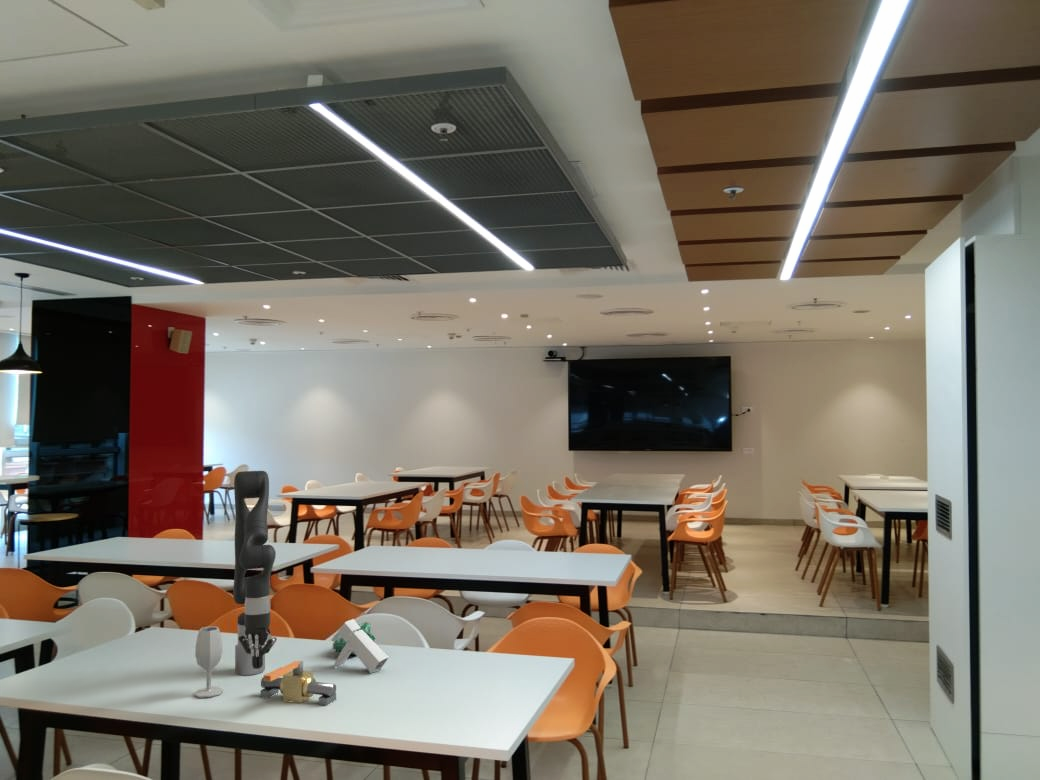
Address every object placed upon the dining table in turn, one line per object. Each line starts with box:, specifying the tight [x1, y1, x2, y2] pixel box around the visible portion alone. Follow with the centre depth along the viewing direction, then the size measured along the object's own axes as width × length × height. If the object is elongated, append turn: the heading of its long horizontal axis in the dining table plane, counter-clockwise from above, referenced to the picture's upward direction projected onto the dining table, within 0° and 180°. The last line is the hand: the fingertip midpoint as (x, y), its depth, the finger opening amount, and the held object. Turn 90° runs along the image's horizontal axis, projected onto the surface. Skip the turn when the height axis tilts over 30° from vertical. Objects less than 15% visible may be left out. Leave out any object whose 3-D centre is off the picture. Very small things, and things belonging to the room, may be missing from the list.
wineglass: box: [194, 625, 224, 699], centre depth 245 cm, size 9×9×21 cm
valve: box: [260, 669, 337, 706], centre depth 239 cm, size 26×6×8 cm, turn 70°
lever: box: [263, 660, 304, 681], centre depth 233 cm, size 17×3×4 cm, turn 160°
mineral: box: [332, 621, 376, 656], centre depth 288 cm, size 18×16×10 cm
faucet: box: [331, 618, 390, 674], centre depth 268 cm, size 6×16×20 cm
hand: (257, 667), depth 230 cm, fingers closed
